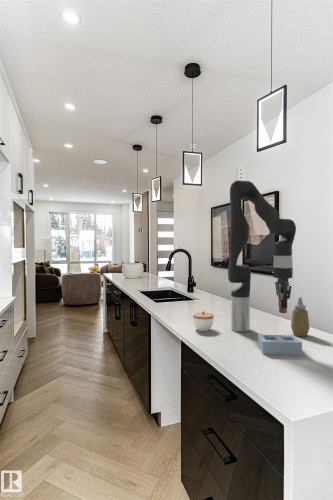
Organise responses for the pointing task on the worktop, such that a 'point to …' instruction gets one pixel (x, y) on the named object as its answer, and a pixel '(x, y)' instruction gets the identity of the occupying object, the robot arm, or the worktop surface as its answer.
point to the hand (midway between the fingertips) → (282, 307)
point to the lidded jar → (203, 320)
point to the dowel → (280, 304)
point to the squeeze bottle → (300, 319)
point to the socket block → (280, 344)
